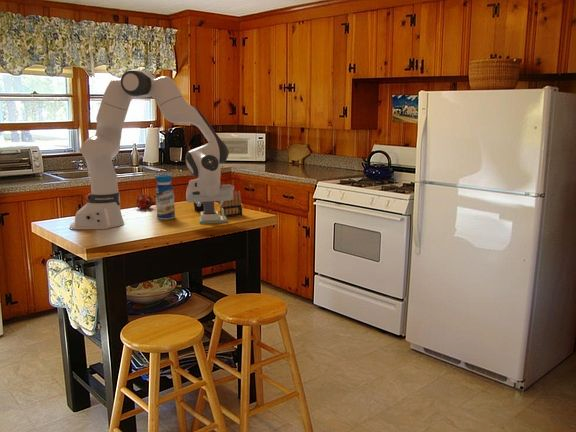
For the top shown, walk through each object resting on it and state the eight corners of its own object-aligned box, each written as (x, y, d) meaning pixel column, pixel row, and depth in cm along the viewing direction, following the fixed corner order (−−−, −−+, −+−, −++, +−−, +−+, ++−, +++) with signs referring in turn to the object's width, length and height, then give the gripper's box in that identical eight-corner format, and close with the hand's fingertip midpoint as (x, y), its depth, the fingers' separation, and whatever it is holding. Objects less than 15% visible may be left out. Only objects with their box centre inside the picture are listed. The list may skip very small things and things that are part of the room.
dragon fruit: (142, 209, 288) (150, 216, 279) (129, 201, 283) (136, 208, 273) (151, 196, 289) (159, 202, 279) (138, 187, 283) (146, 194, 274)
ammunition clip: (240, 214, 264) (239, 189, 261) (242, 215, 262) (241, 190, 260) (220, 217, 258) (219, 191, 256) (222, 217, 256) (221, 192, 254)
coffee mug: (189, 211, 273) (188, 191, 271) (197, 208, 281) (196, 188, 279) (211, 212, 270) (210, 192, 268) (218, 209, 278) (217, 189, 276)
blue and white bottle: (175, 215, 263) (172, 173, 259) (175, 219, 255) (173, 175, 251) (156, 216, 261) (154, 174, 257) (156, 220, 253) (154, 176, 249)
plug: (204, 219, 247) (203, 199, 245) (204, 217, 251) (203, 198, 249) (214, 219, 248) (213, 199, 246) (214, 217, 252) (213, 197, 250)
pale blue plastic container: (200, 223, 244) (199, 212, 243) (199, 219, 254) (198, 208, 253) (227, 222, 246) (227, 211, 245) (225, 218, 256) (225, 207, 255)
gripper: (233, 178, 238) (232, 197, 250) (185, 180, 235) (186, 199, 246) (235, 190, 235) (233, 209, 246) (185, 192, 231) (186, 211, 243)
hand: (209, 204), depth 246 cm, fingers open, 8 cm apart
